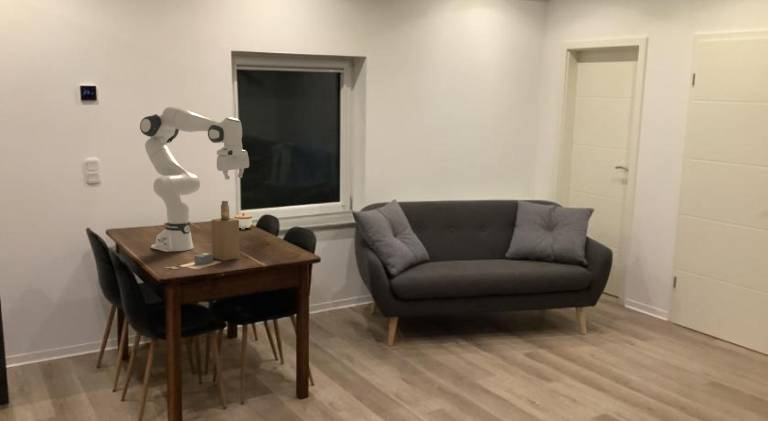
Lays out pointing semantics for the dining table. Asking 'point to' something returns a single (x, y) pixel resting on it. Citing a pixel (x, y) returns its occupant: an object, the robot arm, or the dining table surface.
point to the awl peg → (225, 211)
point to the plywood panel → (196, 266)
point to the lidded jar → (244, 220)
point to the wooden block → (225, 239)
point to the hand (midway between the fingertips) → (233, 178)
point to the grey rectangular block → (203, 259)
